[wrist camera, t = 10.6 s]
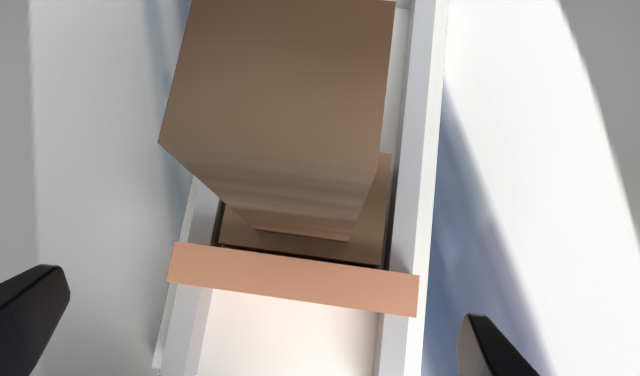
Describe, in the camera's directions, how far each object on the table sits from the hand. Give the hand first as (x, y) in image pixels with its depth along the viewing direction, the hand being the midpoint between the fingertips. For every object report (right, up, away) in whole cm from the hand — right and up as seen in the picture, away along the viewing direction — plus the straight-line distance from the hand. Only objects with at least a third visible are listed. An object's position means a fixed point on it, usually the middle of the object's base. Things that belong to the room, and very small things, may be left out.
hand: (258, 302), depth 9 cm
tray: (+1, +3, +13) cm, 13 cm away
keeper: (+1, +2, +11) cm, 11 cm away
